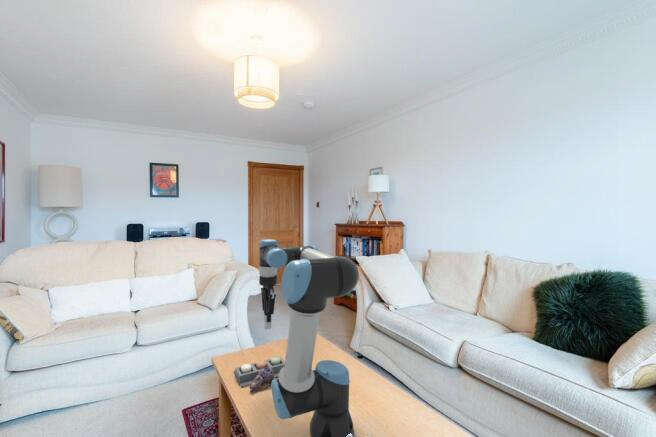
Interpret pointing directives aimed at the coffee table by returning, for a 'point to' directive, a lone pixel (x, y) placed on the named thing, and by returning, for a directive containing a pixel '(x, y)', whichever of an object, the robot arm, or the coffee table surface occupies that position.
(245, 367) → the button cream
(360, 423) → the coffee table surface
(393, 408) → the coffee table surface
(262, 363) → the button terracotta
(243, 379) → the button panel
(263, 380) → the purple lumpy piece
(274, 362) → the button sage
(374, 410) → the coffee table surface
